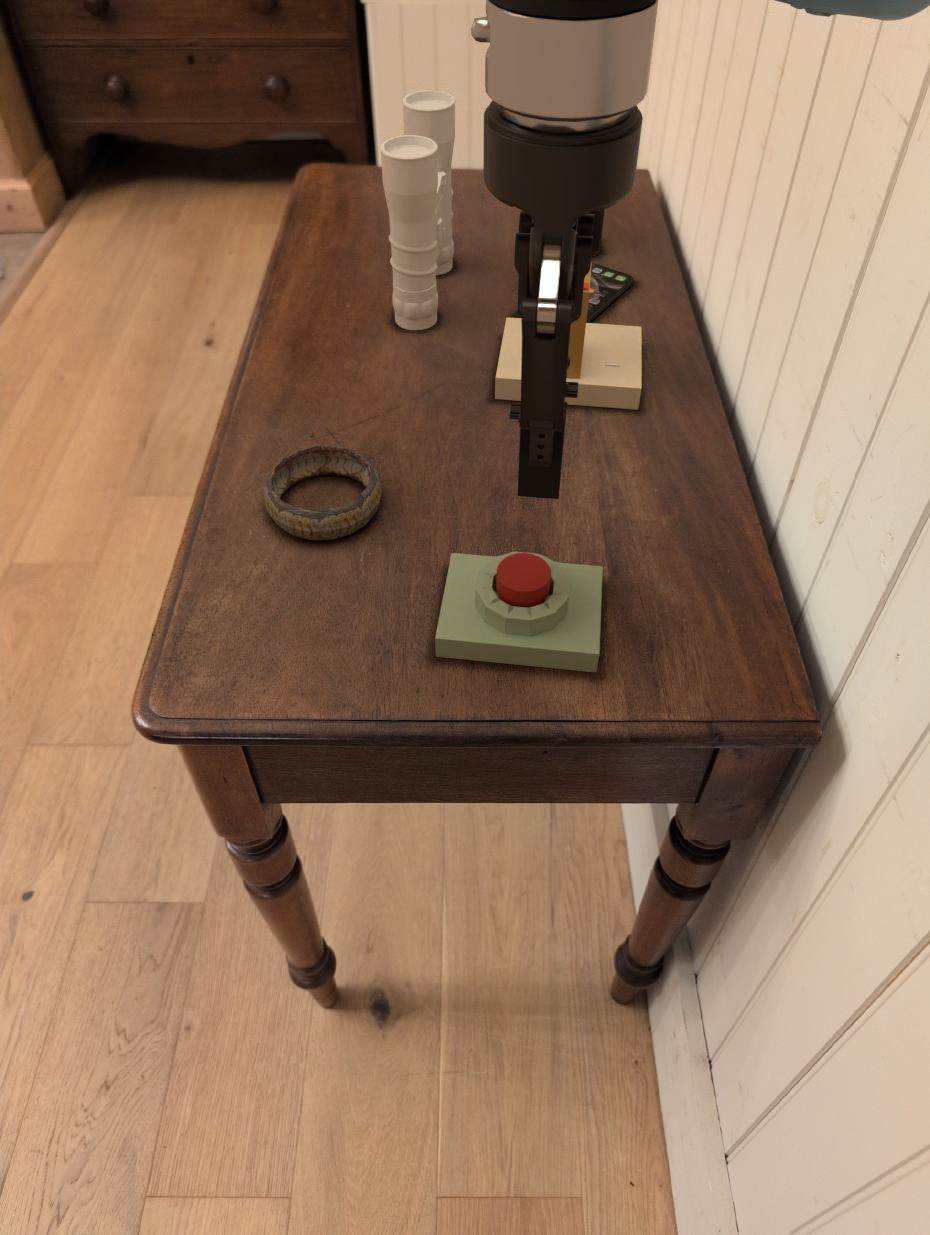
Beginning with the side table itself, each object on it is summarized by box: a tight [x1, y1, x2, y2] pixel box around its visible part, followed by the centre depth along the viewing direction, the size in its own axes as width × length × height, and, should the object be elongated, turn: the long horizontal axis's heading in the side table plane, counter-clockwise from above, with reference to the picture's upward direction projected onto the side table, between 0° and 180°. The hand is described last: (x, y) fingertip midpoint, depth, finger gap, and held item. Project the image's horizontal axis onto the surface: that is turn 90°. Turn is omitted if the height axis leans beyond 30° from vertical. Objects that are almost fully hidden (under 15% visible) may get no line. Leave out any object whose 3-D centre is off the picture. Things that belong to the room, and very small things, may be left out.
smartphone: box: [514, 262, 634, 323], centre depth 102 cm, size 7×1×15 cm
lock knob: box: [567, 261, 593, 378], centre depth 87 cm, size 6×2×9 cm, turn 173°
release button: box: [496, 552, 551, 607], centre depth 68 cm, size 4×4×2 cm
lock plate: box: [494, 317, 643, 411], centre depth 92 cm, size 14×12×3 cm
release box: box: [434, 551, 604, 673], centre depth 70 cm, size 12×9×4 cm
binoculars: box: [379, 89, 456, 331], centre depth 97 cm, size 17×5×18 cm, turn 172°
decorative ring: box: [263, 444, 383, 541], centre depth 79 cm, size 10×3×10 cm
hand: (538, 490), depth 61 cm, fingers closed
